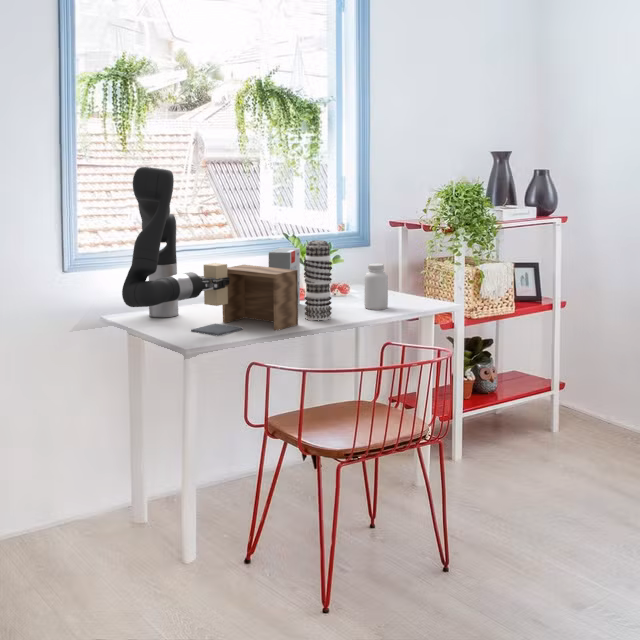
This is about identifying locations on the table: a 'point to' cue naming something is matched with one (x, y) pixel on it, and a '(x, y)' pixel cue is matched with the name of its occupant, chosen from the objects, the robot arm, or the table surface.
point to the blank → (218, 295)
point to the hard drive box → (286, 261)
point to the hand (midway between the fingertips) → (221, 279)
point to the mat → (217, 329)
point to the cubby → (262, 295)
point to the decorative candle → (317, 280)
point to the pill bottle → (376, 287)
